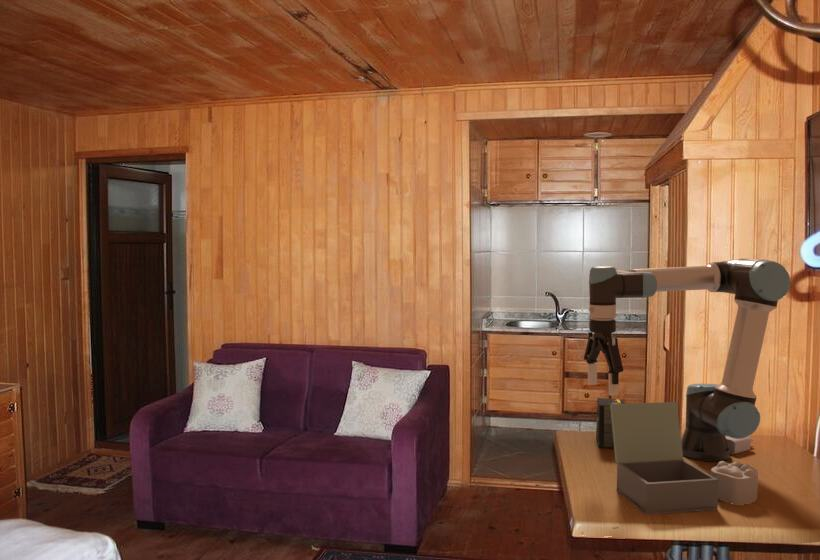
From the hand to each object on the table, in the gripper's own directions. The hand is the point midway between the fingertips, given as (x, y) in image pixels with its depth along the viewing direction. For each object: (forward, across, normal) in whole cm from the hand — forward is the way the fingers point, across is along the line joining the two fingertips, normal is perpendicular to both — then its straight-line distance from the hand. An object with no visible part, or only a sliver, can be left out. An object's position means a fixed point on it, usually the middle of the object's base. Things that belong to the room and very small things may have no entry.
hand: (602, 389), depth 199 cm
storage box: (+26, +22, +7) cm, 35 cm away
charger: (+27, -15, +55) cm, 63 cm away
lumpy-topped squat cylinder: (+26, +22, +28) cm, 45 cm away
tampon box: (+26, -26, +16) cm, 40 cm away
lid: (+10, +12, +8) cm, 17 cm away
